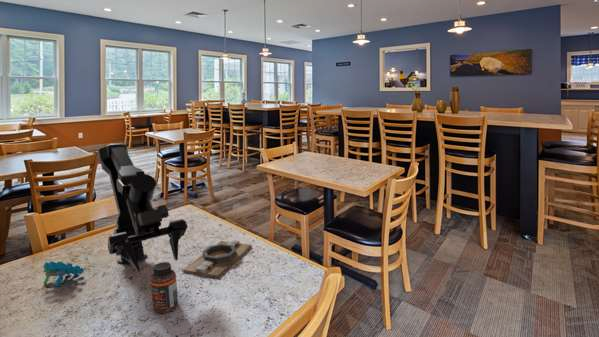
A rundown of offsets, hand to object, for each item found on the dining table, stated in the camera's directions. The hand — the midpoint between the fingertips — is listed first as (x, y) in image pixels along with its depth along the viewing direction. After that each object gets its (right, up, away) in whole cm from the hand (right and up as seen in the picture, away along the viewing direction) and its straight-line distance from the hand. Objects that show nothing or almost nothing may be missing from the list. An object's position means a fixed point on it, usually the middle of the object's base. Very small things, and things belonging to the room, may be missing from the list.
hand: (158, 265), depth 84 cm
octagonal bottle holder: (+9, -5, +25) cm, 27 cm away
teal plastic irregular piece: (-33, -8, +13) cm, 36 cm away
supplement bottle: (+2, -11, 0) cm, 11 cm away
